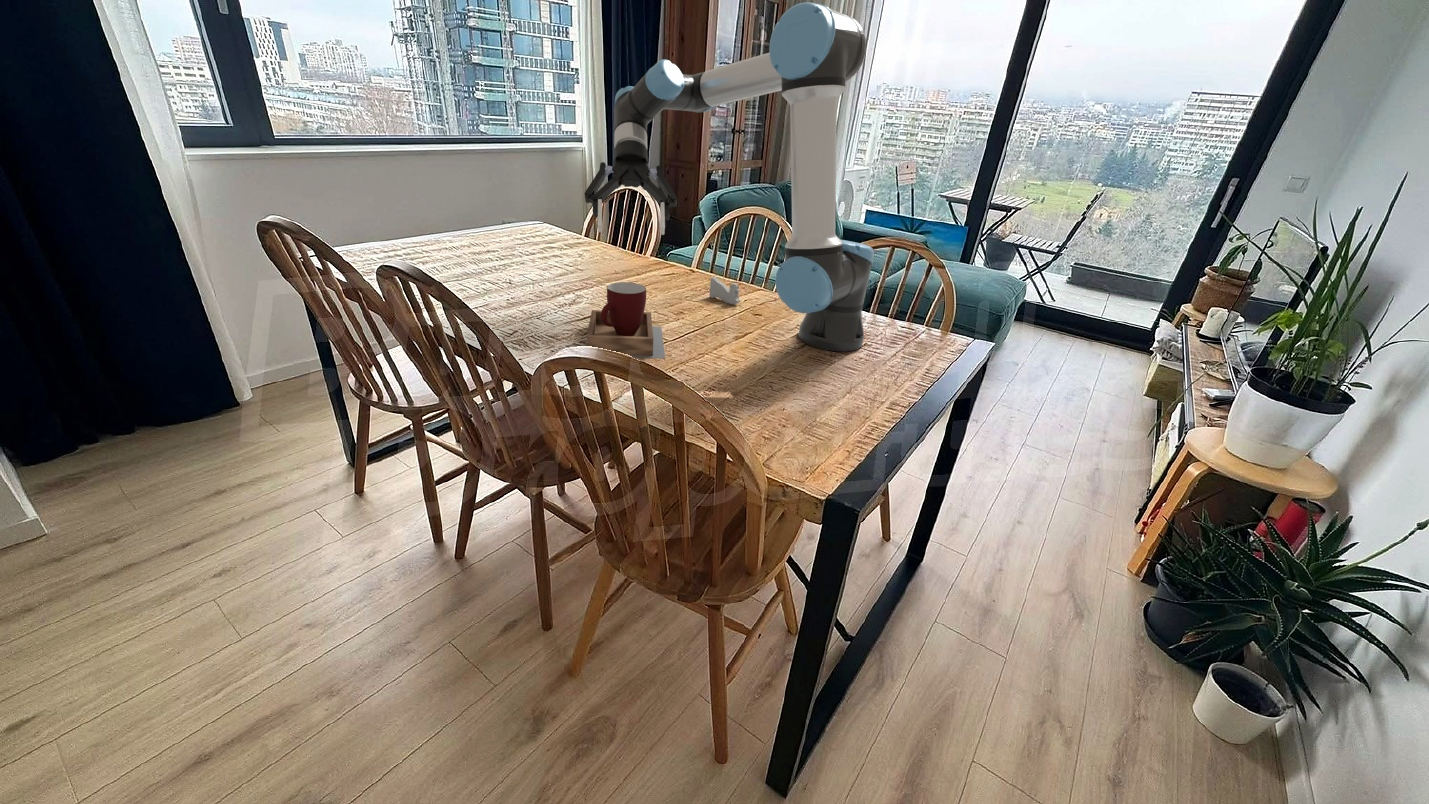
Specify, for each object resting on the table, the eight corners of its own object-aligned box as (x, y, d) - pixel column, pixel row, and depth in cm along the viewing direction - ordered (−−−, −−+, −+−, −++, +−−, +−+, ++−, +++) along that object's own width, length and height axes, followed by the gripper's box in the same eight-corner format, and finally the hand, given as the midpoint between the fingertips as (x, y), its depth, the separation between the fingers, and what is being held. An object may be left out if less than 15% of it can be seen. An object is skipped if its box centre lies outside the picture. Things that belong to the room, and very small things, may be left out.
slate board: (661, 330, 131) (661, 326, 131) (665, 362, 116) (665, 358, 115) (590, 328, 129) (590, 324, 128) (584, 360, 113) (584, 356, 113)
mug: (620, 346, 115) (620, 299, 111) (590, 336, 119) (589, 289, 114) (652, 333, 123) (654, 288, 119) (623, 324, 127) (624, 279, 122)
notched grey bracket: (712, 296, 158) (740, 306, 153) (709, 297, 157) (737, 307, 152) (714, 276, 156) (742, 285, 150) (710, 277, 155) (739, 285, 149)
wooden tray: (650, 327, 130) (650, 312, 128) (652, 356, 116) (653, 338, 114) (592, 325, 128) (591, 309, 126) (587, 354, 114) (586, 336, 112)
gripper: (683, 164, 136) (686, 241, 130) (576, 158, 132) (574, 237, 126) (686, 141, 129) (690, 221, 123) (573, 134, 125) (571, 216, 119)
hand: (631, 230), depth 124 cm, fingers open, 13 cm apart
